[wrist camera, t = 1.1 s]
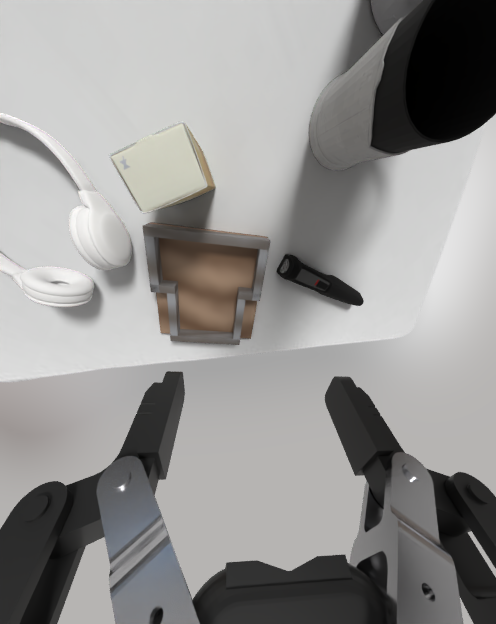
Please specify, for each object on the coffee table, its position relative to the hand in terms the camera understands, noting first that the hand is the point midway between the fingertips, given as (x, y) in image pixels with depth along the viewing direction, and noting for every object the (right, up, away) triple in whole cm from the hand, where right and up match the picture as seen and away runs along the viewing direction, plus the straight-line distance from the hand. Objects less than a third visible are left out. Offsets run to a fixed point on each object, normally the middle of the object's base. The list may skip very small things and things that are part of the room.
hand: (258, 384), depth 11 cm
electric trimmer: (+11, +10, +24) cm, 28 cm away
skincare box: (-8, +21, +15) cm, 27 cm away
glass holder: (+14, +26, +13) cm, 32 cm away
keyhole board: (-7, +8, +23) cm, 25 cm away
